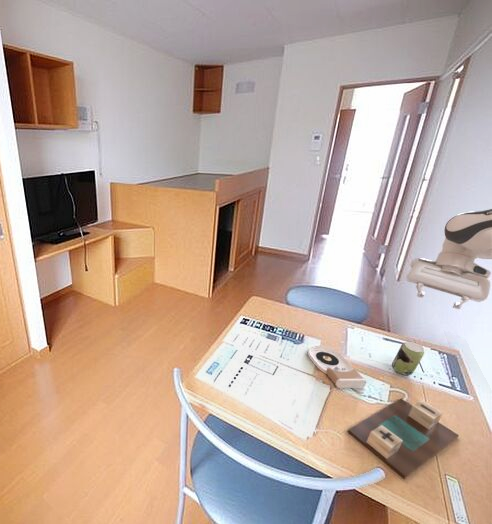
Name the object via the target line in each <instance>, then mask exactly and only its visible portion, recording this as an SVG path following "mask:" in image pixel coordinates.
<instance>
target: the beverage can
mask: <svg viewBox="0 0 492 524" xmlns="http://www.w3.org/2000/svg"><path fill="white" fill-rule="evenodd" d="M424 356H425V350H424V347H423V346H422V345H421V344H419V343H418V342H416V341H411V340H407V341H405V342H403V343H402V344H401V345H400V347H399V349H398V351H397V353H396V354H395V356H394V358H393V361H392V362H391V367H392V369H393V370H394V371H395V372H397V373H398V374H401V375H405V376H411V375H413V374H414V372H415V371H416V369H417V367H418V365H419V364H420V362H421V360H422V358H423V357H424Z"/></svg>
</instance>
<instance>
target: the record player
mask: <svg viewBox="0 0 492 524" xmlns="http://www.w3.org/2000/svg"><path fill="white" fill-rule="evenodd" d="M307 355H308V358H309V359H310V360H311V361H312V363H313V365H315V367H316V368H317V369H318V370H320V371H321V372H322V373H323V374H326V375H327V377H328V378H329V379H330V380H331V381H332V383H333V384H334V386H336V387H337V389H362V388H365V386H366V385H367V380H366V379H365V378H364V377H363V376H362V375H361V373H359V371H357V370H356V369H355V368H353V366H352V365H351V362H349V361H348V360H347V359H346V358H345V357H344V355H342V354H341V353H340V352H339V351H337V350H336V349H333V348H331V347H328V346H324V345H313V346H311V347H310V348H309V349H308V353H307Z"/></svg>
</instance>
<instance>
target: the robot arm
mask: <svg viewBox="0 0 492 524" xmlns="http://www.w3.org/2000/svg"><path fill="white" fill-rule="evenodd" d="M444 237H445V238H444V239H443V243H442V249H441V250H440V252H439V253H438V254H437V257H436V260H435V261H434V260H430V259H426V258H423V257H419V258H414V259H412V260H411V263H410V270H409V271H408V273H407V275H406V277H405V279H406V281H407V282H409V283H412V284H416V285H415V288H416V291H417V293H416V297H417V298H423V297H424V295H425V294H426V292H425V291H423V289H422V288H423V287H426V288H429V289H433V290H436V291H439V292H442V293H446V294H449V295H452V296H456V297H460V302H458V301H455V302H454V303H453V305H452V308H453V309H456V310H461V308H462V305H463V304H465V303H467V302H469V301H473V302H476V303H481V302H483V301H486V300H487V299H488V297H489V294H490V290H491V281H490V279H489V278H490V276H491V275H492V271H491V270H489V269H488V268H485V267H484V266H481V265H479V264H477V263H476V262H475V260H476V259H482V260H492V208H489V209H484V210H473V211H466V212H462V213H459V214H457V215H454V216H453V217H451V218H450V219H449V220H447V222H446V223H445V226H444Z"/></svg>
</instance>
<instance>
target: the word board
mask: <svg viewBox="0 0 492 524" xmlns="http://www.w3.org/2000/svg"><path fill="white" fill-rule="evenodd" d="M443 414H444V412H443V411H442V410H439V409H438V408H437V407H434V406H433V405H431V404H430V403H428V402H426V401H425V400H423V399H421V400H419V401H418V402H416V403H414V404H413V405H412V404H411V403H409V402H408V401H406V400H404V399H403V398H400V399H398V400H396V401H394V402H393V403H390V404H389V405H387V406H386V407H384V408H383V409H381V410H379V411H376V413H374V414H372V415H370V416H368V417H367V418H365V419H363V420H362V421H360V422H359V423H356V424H355V425H353V426H352V427H350V428H348V429H347V433H348V434H349V435H350V436H352V437H353V438H354V439H355V440H357V441H358V442H359V443H360V444H361V445H362V446H364V447H365V448H366V449H367V450H369V452H371V453H372V454H373V455H375V456H376V458H378V459H379V460H381V461H382V462H383V463H384V464H385V465H387V466H388V467H389V468H390V469H391V470H393V471H394V472H395V473H396V474H397V475H398V476H400V477H401V478H402V479H404V480H406V479H407V478H408V477H409V476H411V475H412V474H414V472H416V471H417V470H418V469H419V468H421V467H422V466H423V465H425V464H426V463H427V462H428V461H430V460H431V459H432V458H434V457H435V456H436V455H437V454H439V453H440V452H441V451H442V450H444V449H445V448H446V447H448V446H449V445H450V444H452V443H453V442H455V440H457V439H458V438H459V436H460V435H459V434H458V433H456V432H454V431H453V430H452V429H451V428H448V427H447V426H445V425H444V424H442V423H441V422H440V420H441V418H442V416H443Z"/></svg>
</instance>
